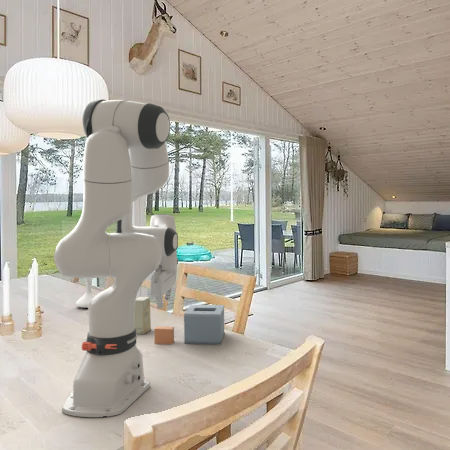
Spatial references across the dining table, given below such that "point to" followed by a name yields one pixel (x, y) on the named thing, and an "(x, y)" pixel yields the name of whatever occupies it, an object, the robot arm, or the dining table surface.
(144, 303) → the skincare box
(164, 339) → the token
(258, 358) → the dining table surface
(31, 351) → the dining table surface
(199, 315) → the coin box
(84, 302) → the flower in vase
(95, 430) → the dining table surface
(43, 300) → the dining table surface
